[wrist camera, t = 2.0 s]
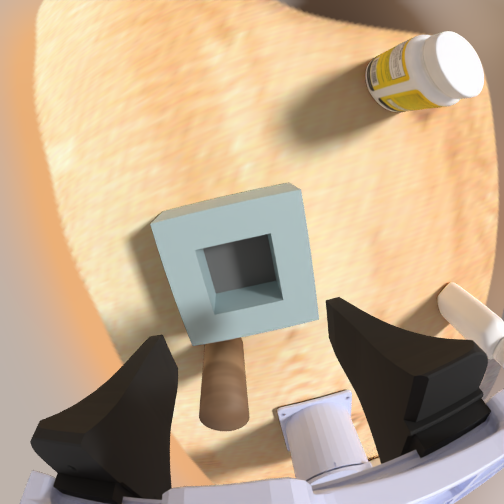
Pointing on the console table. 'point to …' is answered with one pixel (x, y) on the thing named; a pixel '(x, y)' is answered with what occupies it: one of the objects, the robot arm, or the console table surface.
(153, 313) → the console table surface
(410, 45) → the supplement bottle
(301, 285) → the socket block
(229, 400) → the pin
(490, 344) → the eye dropper bottle
